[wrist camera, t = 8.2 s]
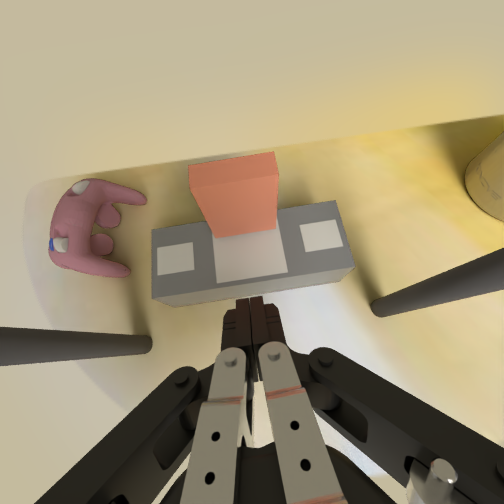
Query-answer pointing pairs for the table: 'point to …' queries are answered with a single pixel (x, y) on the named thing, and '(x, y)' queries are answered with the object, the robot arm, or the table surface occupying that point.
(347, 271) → the breaker block
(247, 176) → the block
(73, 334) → the cord posts
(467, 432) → the robot arm
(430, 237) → the table surface
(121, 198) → the video game controller
